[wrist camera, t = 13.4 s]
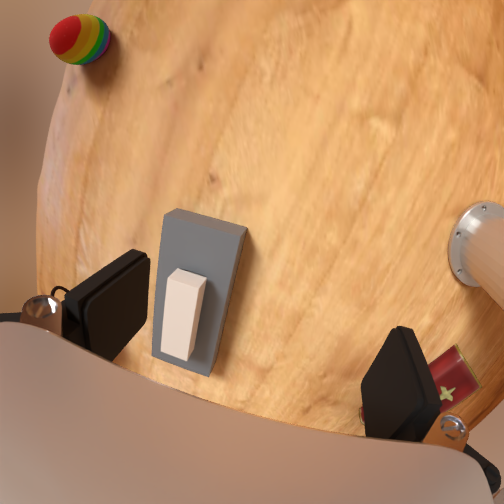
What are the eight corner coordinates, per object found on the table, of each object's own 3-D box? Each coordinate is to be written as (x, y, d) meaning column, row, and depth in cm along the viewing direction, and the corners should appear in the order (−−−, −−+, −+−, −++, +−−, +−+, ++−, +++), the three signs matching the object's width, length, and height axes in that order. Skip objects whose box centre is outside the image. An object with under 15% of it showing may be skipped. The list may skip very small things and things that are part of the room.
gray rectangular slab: (176, 208, 40) (164, 214, 36) (247, 227, 39) (240, 236, 35) (161, 342, 49) (151, 355, 45) (215, 361, 48) (208, 377, 44)
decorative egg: (71, 53, 34) (29, 44, 25) (101, 14, 31) (62, -2, 22) (92, 76, 35) (48, 69, 26) (126, 36, 32) (84, 18, 23)
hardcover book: (358, 406, 47) (359, 423, 43) (454, 341, 39) (463, 356, 36) (388, 429, 49) (391, 445, 45) (475, 373, 41) (482, 388, 37)
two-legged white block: (191, 254, 42) (167, 277, 34) (218, 262, 41) (198, 288, 34) (181, 321, 46) (160, 351, 39) (204, 329, 46) (186, 361, 39)
